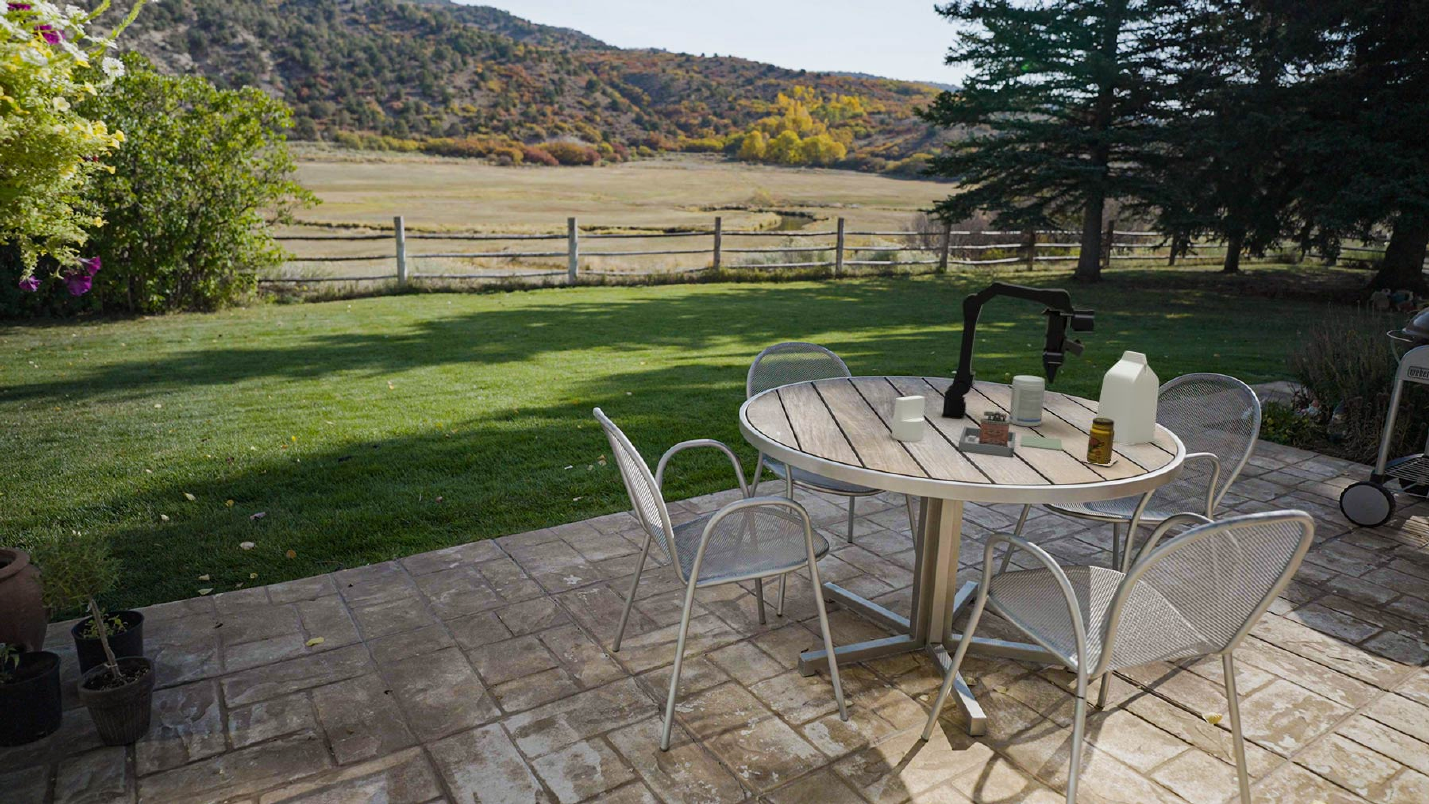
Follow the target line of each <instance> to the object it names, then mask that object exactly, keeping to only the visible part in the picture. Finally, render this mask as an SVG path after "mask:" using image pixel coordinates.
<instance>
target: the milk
mask: <svg viewBox="0 0 1429 804" xmlns="http://www.w3.org/2000/svg"><path fill="white" fill-rule="evenodd" d="M1101 386H1102V387H1101V389H1100V390H1101V391H1100V395H1099V396H1100V397H1099V402H1098V406H1097V411H1096V417H1095V418H1107V419H1111V420H1113V421H1114V428H1113V430H1114V441H1116V442H1115V443H1117V442H1118V443H1117V444H1120V443H1123V444H1132V443H1139V444H1147V443H1154V442H1155V431H1156V423H1157V421H1156V420H1157V411H1158V410H1157V409H1158V408H1157V407H1158V398H1159V391H1160V390H1159V388H1160V380H1159V377H1158V376H1157V375H1156V373H1155V372H1154V371H1153V369H1152V368H1151V367H1150V366H1149V364H1148V361H1147V356H1146V353H1140V352H1135V351H1131V350H1125V351H1124V352H1123V354H1122V357H1121V358H1120V360H1118V362H1116V363H1115V364H1114V365H1113V366H1112V367H1111V368H1110V369H1108V370H1107V372H1106V373H1105V374H1104V377H1103V380H1102V385H1101ZM1114 441H1113V442H1114ZM1123 444H1122V445H1123ZM1132 445H1133V444H1132Z"/></svg>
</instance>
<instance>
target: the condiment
mask: <svg viewBox="0 0 1429 804" xmlns="http://www.w3.org/2000/svg"><path fill="white" fill-rule="evenodd" d="M1113 428H1114V421H1113V420H1111V419H1107V418H1096V417H1094V418H1093V419H1092V424H1091V428H1090V429H1089V436H1088V437H1089V438H1088V443H1087V445H1088V446H1087V452H1086V458H1087V461H1088V462H1090V463H1098V464H1108V463H1110V461H1111V459H1112V454H1113V446H1114V441H1113V440H1114V430H1113Z"/></svg>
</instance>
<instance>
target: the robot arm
mask: <svg viewBox="0 0 1429 804" xmlns="http://www.w3.org/2000/svg"><path fill="white" fill-rule="evenodd" d="M996 296H1005V297H1010V298H1016V299H1021V300H1026V301H1033V302H1037V303H1039V304H1042V305H1045V306H1047V307H1046V309H1045V310H1043V311H1041V315H1042V316H1047V322H1046V331H1045V340H1044V346H1043V353H1042V359H1041V361H1042V365H1043V368H1044V371H1045V374H1046V379H1047V382H1048V384H1054V381H1055V378H1056V375H1057V371H1058V369H1059V368H1060V367H1061V366H1063V365H1064V364H1065V360H1066V354H1065V353H1066V352H1068V353H1070V354H1072V355H1075V356H1076V357H1078V358H1079V357H1080V358H1081V357H1082V354H1083V352H1084V351H1085V349H1086V346H1085V345H1084V344H1082V340H1081V339H1079V338H1074V339H1073V340H1072V339H1068V335H1067V329H1068V328H1069V329H1071V330H1072V332H1075V333H1089V334H1090V333H1093V332H1094V328H1095V312H1096V311H1095V310H1094V309H1087V310H1086V309H1085V310H1084V309H1076V308H1075V306H1074V305H1073V304H1072V302H1071V296H1070V294H1069V291H1068V290H1066V289H1065V288H1036V287H1031V286H1025V285H1019V284H1013V283H1008V282H1003V281H1000V280H996V281H994V282H992V283H991V284H990V285H988V286H987V287H985V288H983V289H981V290H980V291H979V292H977V293H975V292H974V293H969V294H968V295H967V296H966V297H965V298H963V300H962V317H963V318H962V319H963V330H962V337H961V345H960V353H959V361H958V366H957V369H956V372H955V375H954V378H953V381H952V384H951V385H949V386H948V387H947V388H946V390H945V391H944V397H943V410H942V414H941V417H945V418H953V419H954V418H955V419H963V418H964V417H965V416H966V412H967V411H966V410H967V401H965V400H966V397H965V395H968V393H969V392H970V391H971V388H973V387H974V385H975V376H976V373H977V371H975V370H974V371H972V362H973V361H972V360H973V354H974V347H975V337H976V330H977V323H978V322H979V317H980V314H981V311H982V308H983V305H984V304H986V303H988V302H989V301H991V299H993V298H994V297H996ZM1051 308H1052V309H1051ZM1061 310H1062V311H1064V312H1065V313H1061ZM1069 318H1070V319H1069ZM1068 320H1069V327H1068Z"/></svg>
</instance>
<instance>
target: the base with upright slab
mask: <svg viewBox="0 0 1429 804" xmlns="http://www.w3.org/2000/svg"><path fill="white" fill-rule="evenodd" d="M925 403H926V396H925V397H924V396H923V395H922V396H921V395H911V396H909V395H908V396H902V397H896V398H895V403H894V405H895V406H894V415H893V417H892V428H891V429H892V431H891V437H892V438H893V439H894V440H897V441H901V442H911V443H913V442H921V441H922V440H924V431H925V420H926V419H925V417H924V415H925V405H926V404H925Z"/></svg>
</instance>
